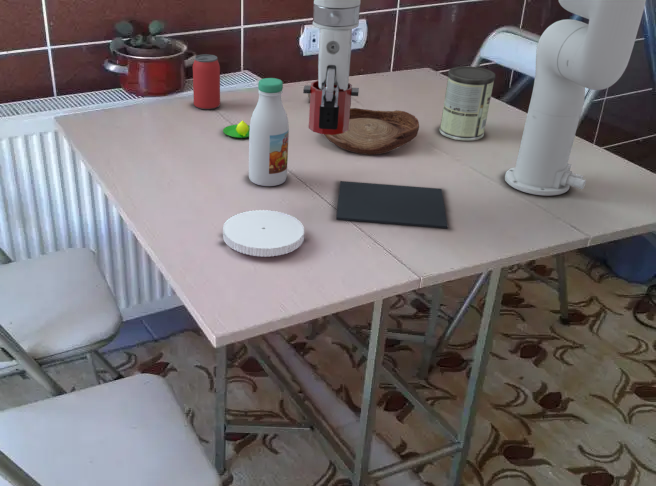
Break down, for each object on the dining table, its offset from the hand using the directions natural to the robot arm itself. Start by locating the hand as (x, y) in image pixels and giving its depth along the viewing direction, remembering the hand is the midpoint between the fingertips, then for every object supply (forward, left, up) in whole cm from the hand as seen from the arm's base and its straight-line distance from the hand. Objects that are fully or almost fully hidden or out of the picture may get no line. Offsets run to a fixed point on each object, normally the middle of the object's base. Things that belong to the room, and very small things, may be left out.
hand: (329, 119), depth 131 cm
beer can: (+54, -28, -17) cm, 63 cm away
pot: (0, 0, -1) cm, 1 cm away
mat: (-9, -9, -17) cm, 22 cm away
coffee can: (-3, -53, -17) cm, 56 cm away
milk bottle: (+16, -3, -17) cm, 24 cm away
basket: (+12, -35, -17) cm, 41 cm away
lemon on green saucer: (+36, -19, -17) cm, 44 cm away
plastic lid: (+1, +18, -17) cm, 25 cm away
